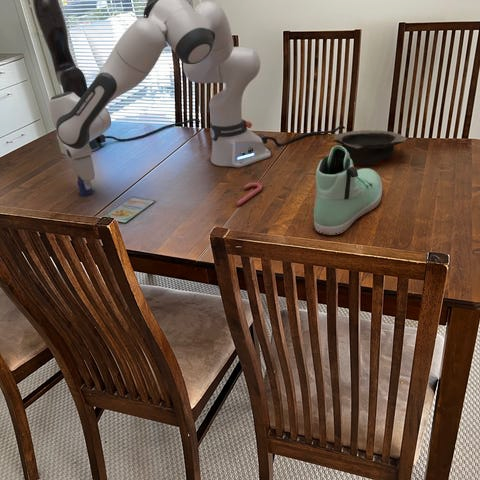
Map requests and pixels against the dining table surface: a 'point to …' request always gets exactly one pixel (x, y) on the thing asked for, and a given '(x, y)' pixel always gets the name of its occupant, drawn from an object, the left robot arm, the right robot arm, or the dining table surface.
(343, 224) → the sneaker
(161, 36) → the right robot arm
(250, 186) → the candy cane
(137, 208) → the baking ingredient package
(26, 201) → the dining table surface
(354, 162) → the stone bowl
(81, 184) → the can
